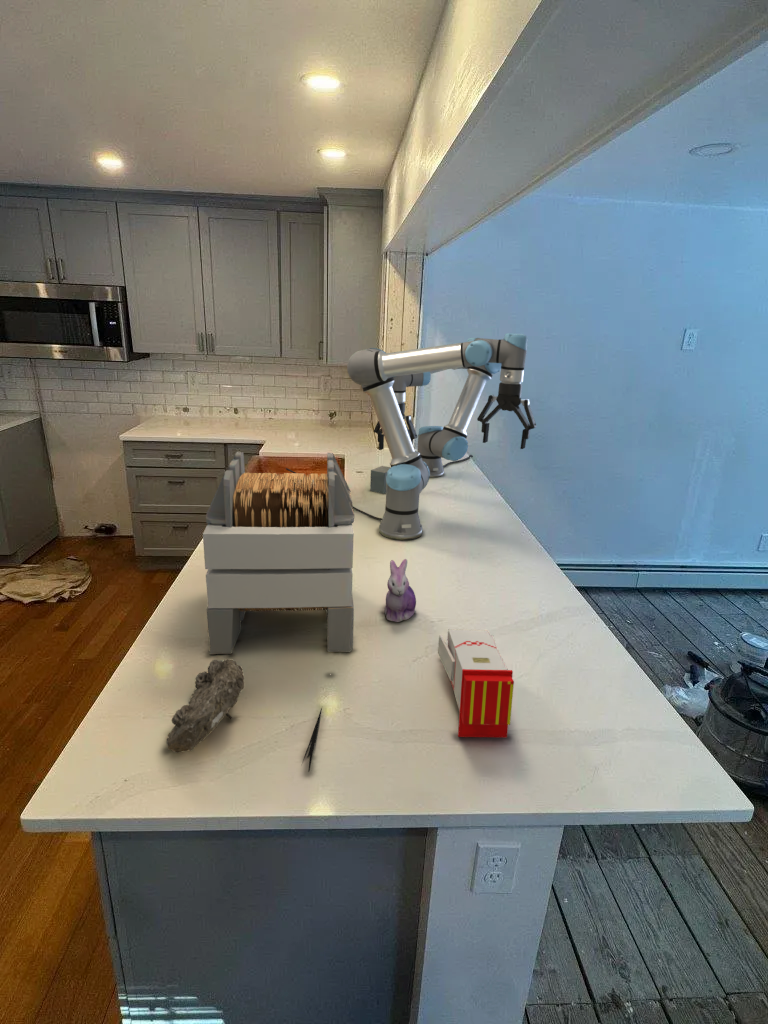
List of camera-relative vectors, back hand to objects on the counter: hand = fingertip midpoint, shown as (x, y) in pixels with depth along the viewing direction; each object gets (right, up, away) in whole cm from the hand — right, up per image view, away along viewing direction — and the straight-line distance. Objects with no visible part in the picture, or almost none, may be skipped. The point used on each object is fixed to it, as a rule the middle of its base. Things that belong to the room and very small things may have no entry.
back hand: (394, 452), depth 243 cm
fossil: (-37, -65, -134) cm, 154 cm away
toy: (+13, -63, -124) cm, 140 cm away
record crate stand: (-30, -52, -99) cm, 116 cm away
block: (-5, -16, +5) cm, 17 cm away
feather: (-17, -66, -134) cm, 150 cm away
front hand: (+37, -3, -47) cm, 60 cm away
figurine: (-1, -52, -95) cm, 109 cm away
